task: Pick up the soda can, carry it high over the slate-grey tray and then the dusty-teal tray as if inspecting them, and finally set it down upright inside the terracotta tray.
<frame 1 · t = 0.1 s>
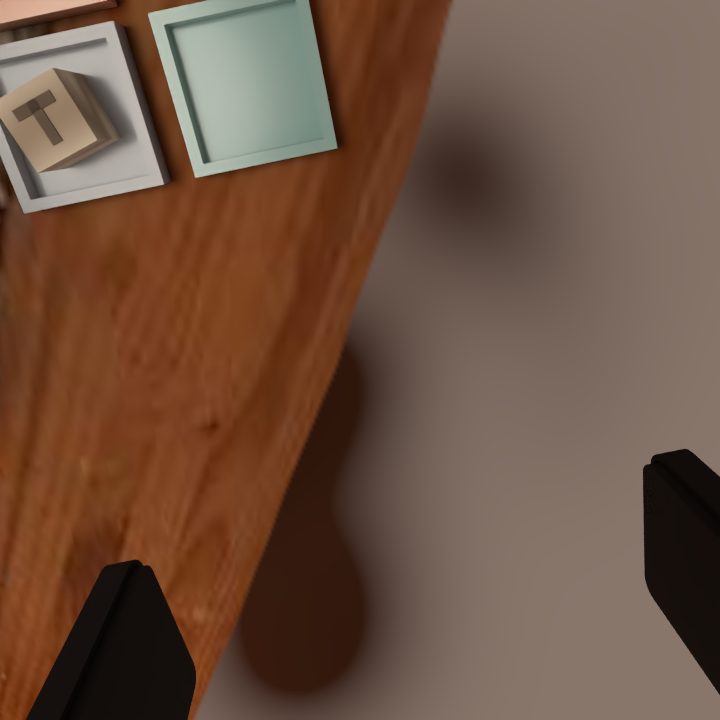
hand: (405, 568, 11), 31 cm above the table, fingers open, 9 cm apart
tray teal: (250, 85, 36), on the table
tray slate: (78, 122, 36), on the table
letter cube: (74, 122, 35), point 1 cm above the table, touching tray slate
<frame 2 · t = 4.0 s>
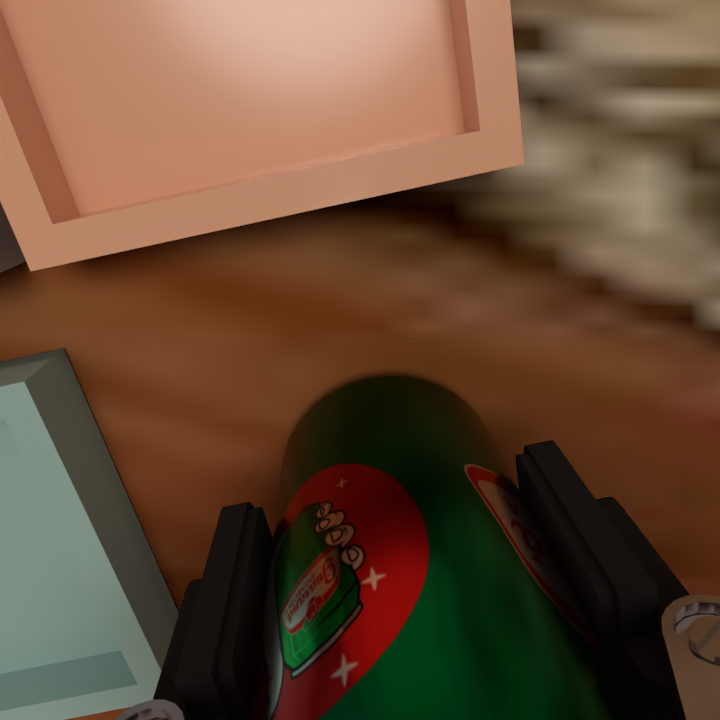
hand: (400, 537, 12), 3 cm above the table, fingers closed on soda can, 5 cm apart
soda can: (385, 454, 14), on the table, touching gripper
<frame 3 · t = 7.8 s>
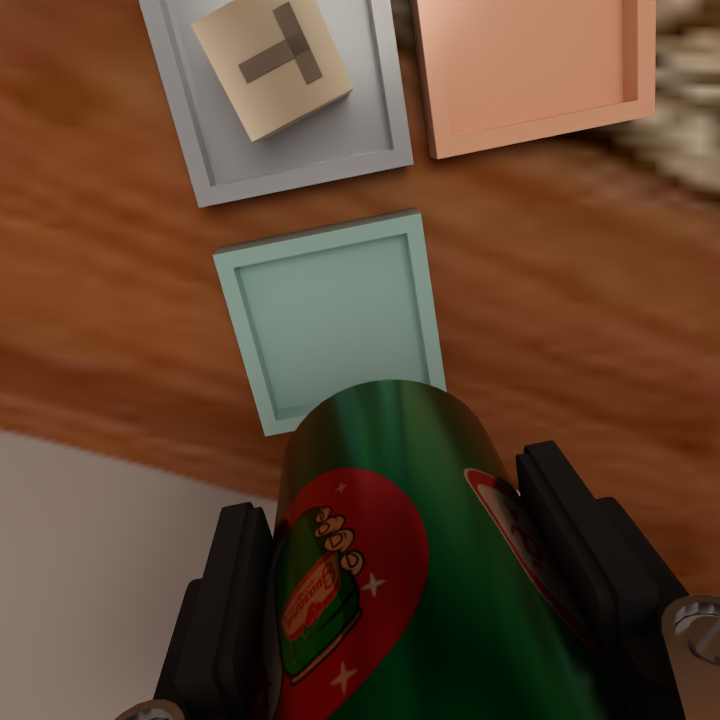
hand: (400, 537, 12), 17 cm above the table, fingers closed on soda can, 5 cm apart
tray teal: (336, 320, 28), on the table
tray terracotta: (523, 20, 23), on the table
tray slate: (282, 69, 24), on the table
soda can: (385, 457, 14), point 14 cm above the table, touching gripper
letter cube: (281, 68, 23), point 1 cm above the table, touching tray slate
when the fingers open (5 cm above the table, at t = 11.7 s): soda can drops 1 cm, resting on tray terracotta.
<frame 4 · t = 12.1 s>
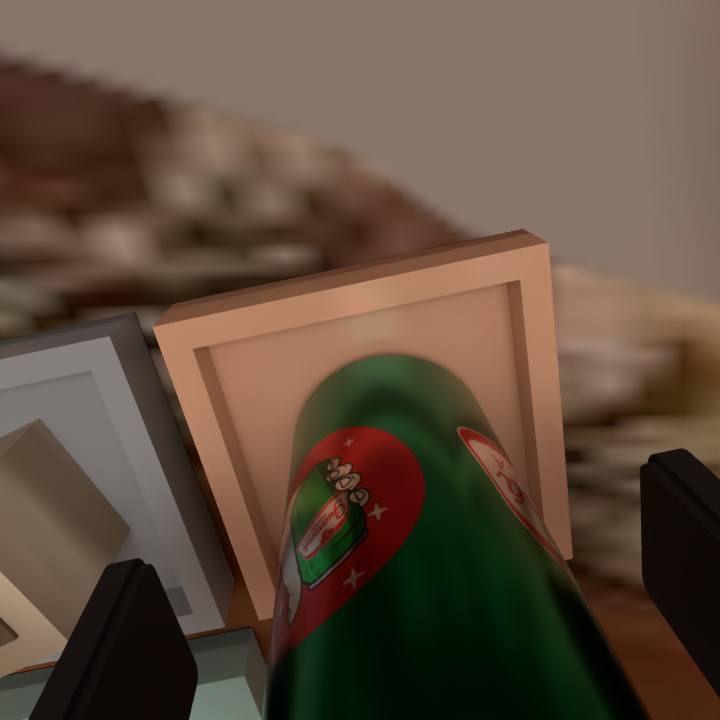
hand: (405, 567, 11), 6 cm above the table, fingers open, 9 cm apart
tray terracotta: (379, 421, 16), on the table
tray slate: (36, 492, 16), on the table
soda can: (387, 430, 16), resting on tray terracotta
letter cube: (26, 504, 16), point 1 cm above the table, touching tray slate
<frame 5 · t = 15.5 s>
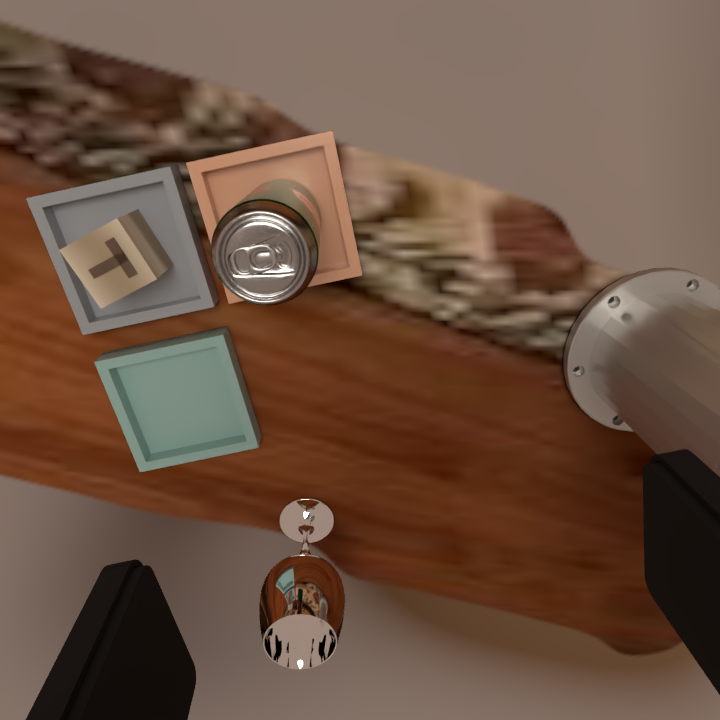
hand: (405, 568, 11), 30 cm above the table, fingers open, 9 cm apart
tray teal: (185, 395, 42), on the table
tray terracotta: (280, 217, 38), on the table
tray slate: (133, 249, 38), on the table
soda can: (282, 219, 37), resting on tray terracotta
wineglass: (306, 518, 47), on the table
letter cube: (130, 251, 38), point 1 cm above the table, touching tray slate
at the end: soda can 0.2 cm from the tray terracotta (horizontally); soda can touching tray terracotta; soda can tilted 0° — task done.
